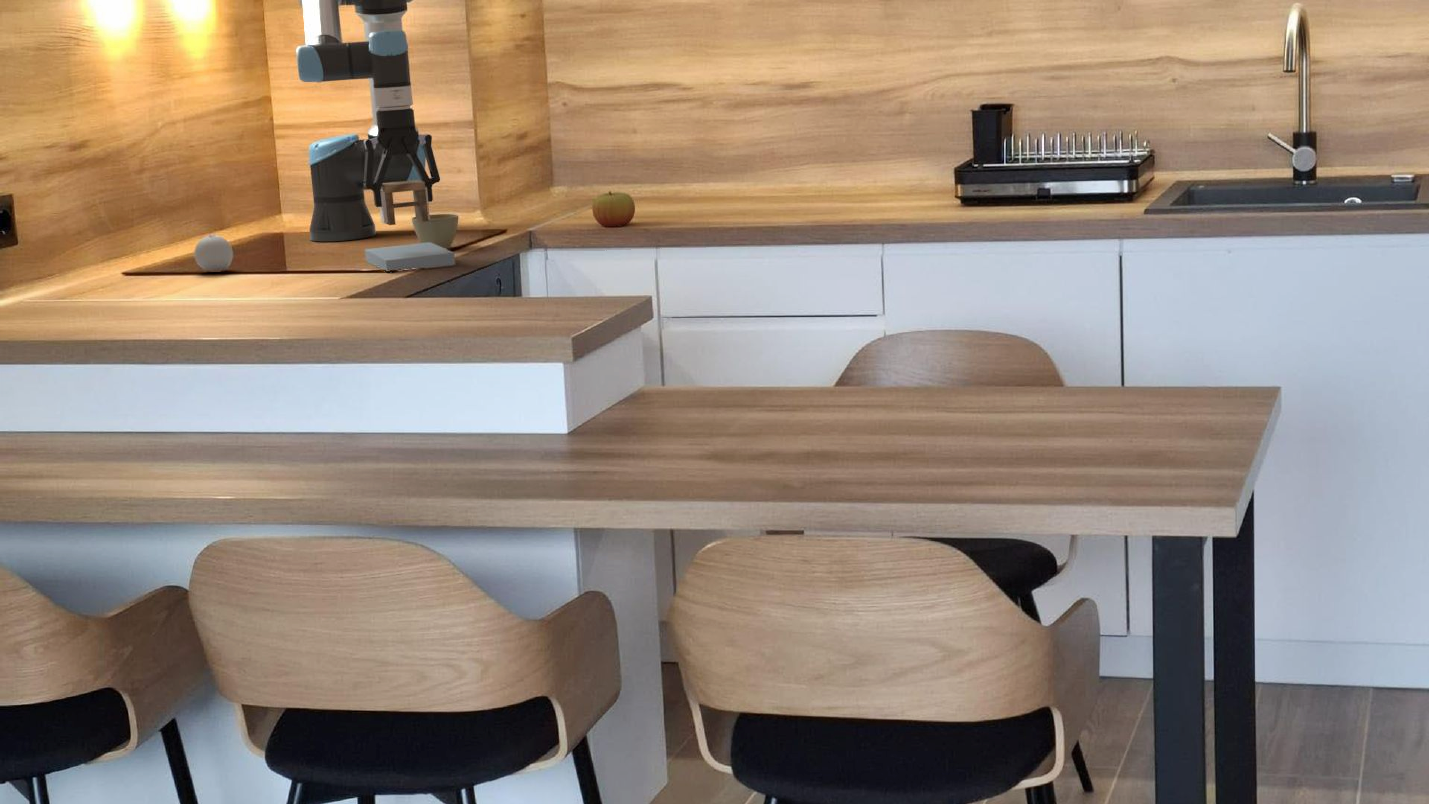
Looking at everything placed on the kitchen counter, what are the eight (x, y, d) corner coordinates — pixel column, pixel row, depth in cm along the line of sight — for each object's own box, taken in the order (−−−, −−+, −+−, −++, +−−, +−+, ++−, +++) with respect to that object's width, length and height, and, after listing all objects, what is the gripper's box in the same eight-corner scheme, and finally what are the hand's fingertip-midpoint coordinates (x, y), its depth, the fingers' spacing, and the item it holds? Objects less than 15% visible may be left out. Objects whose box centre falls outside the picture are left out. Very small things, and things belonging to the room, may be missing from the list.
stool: (389, 225, 353) (385, 185, 351) (383, 222, 358) (379, 183, 356) (428, 221, 356) (424, 181, 354) (421, 218, 361) (417, 179, 359)
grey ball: (201, 276, 358) (196, 237, 356) (193, 272, 365) (189, 234, 363) (239, 271, 361) (234, 233, 359) (230, 267, 368) (226, 230, 366)
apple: (586, 228, 396) (583, 193, 395) (604, 222, 405) (602, 188, 403) (625, 228, 393) (622, 193, 391) (643, 222, 401) (640, 187, 400)
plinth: (365, 261, 365) (364, 249, 365) (431, 253, 371) (430, 242, 370) (387, 272, 347) (385, 260, 347) (455, 264, 353) (454, 252, 352)
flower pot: (452, 252, 371) (449, 218, 370) (407, 253, 373) (404, 220, 372) (467, 245, 381) (464, 212, 379) (424, 246, 383) (421, 214, 381)
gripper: (346, 113, 345) (358, 227, 350) (449, 104, 352) (459, 216, 357) (339, 111, 351) (351, 224, 356) (440, 103, 359) (450, 213, 364)
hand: (405, 220), depth 357 cm, fingers closed on stool, 8 cm apart
